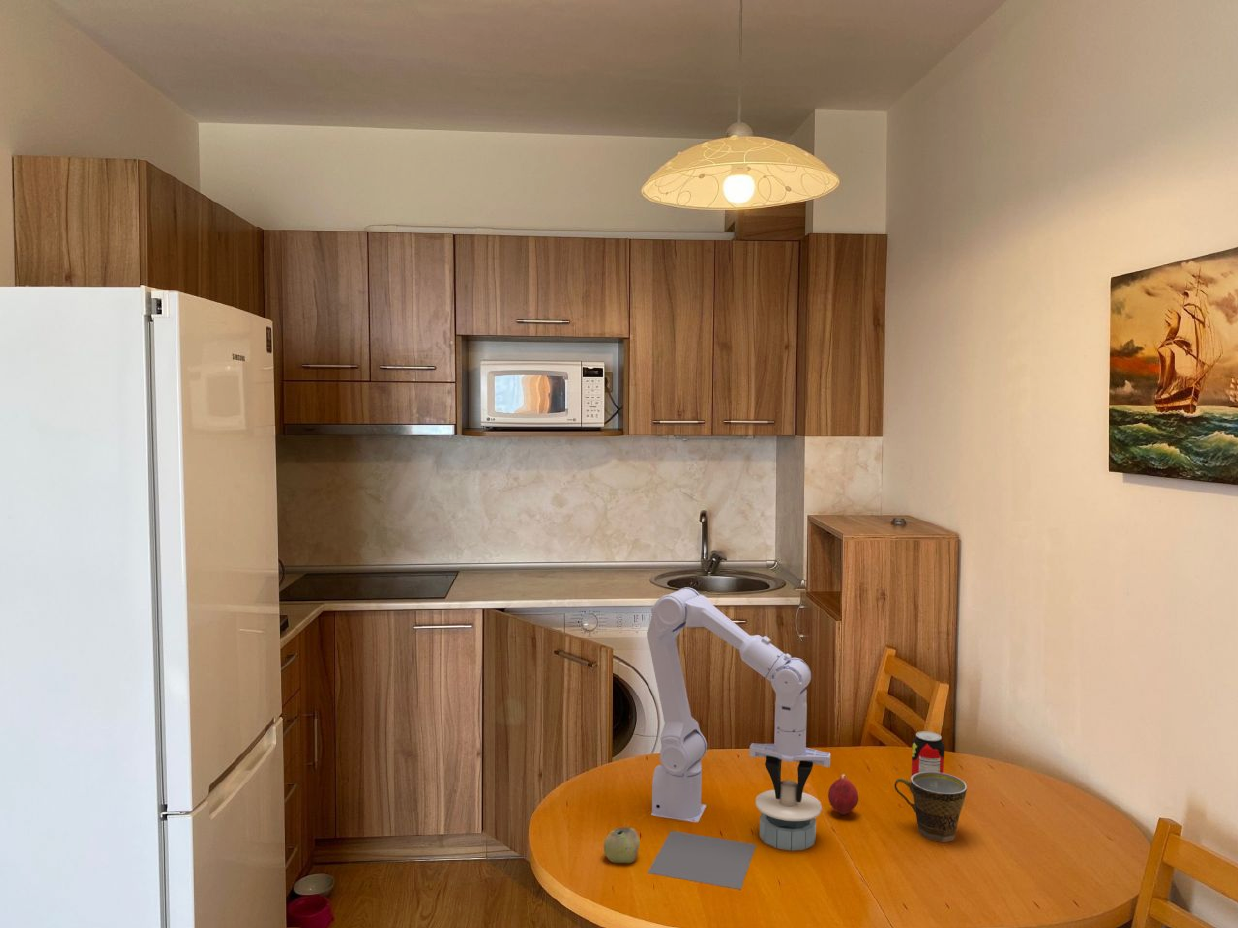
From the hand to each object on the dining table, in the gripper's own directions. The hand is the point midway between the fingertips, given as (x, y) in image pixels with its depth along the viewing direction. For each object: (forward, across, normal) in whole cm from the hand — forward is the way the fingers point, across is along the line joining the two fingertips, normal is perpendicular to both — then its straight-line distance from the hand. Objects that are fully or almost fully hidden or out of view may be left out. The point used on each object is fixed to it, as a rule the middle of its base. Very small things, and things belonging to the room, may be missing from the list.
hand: (788, 798), depth 166 cm
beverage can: (+8, +25, +31) cm, 41 cm away
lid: (+1, 0, 0) cm, 1 cm away
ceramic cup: (+8, +25, +12) cm, 29 cm away
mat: (+8, -13, -13) cm, 20 cm away
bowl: (+8, 0, 0) cm, 8 cm away
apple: (+8, -26, -17) cm, 32 cm away
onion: (+8, +9, +14) cm, 19 cm away
